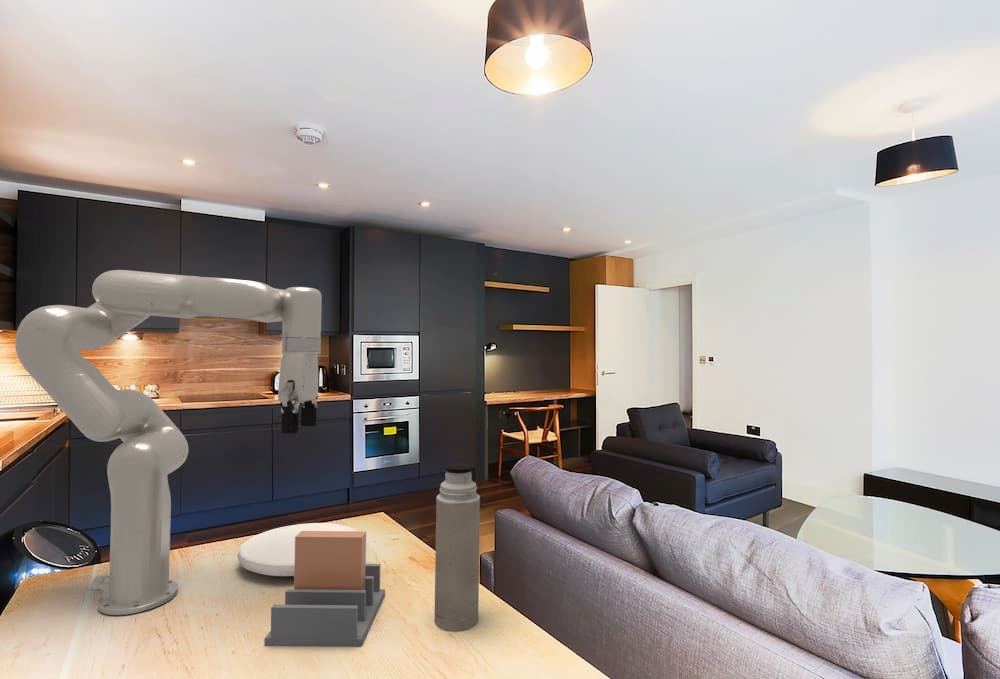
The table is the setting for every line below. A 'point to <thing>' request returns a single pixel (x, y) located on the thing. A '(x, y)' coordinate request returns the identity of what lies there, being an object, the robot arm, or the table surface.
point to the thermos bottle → (457, 550)
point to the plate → (278, 548)
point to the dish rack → (326, 615)
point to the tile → (330, 560)
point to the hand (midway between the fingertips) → (299, 429)
